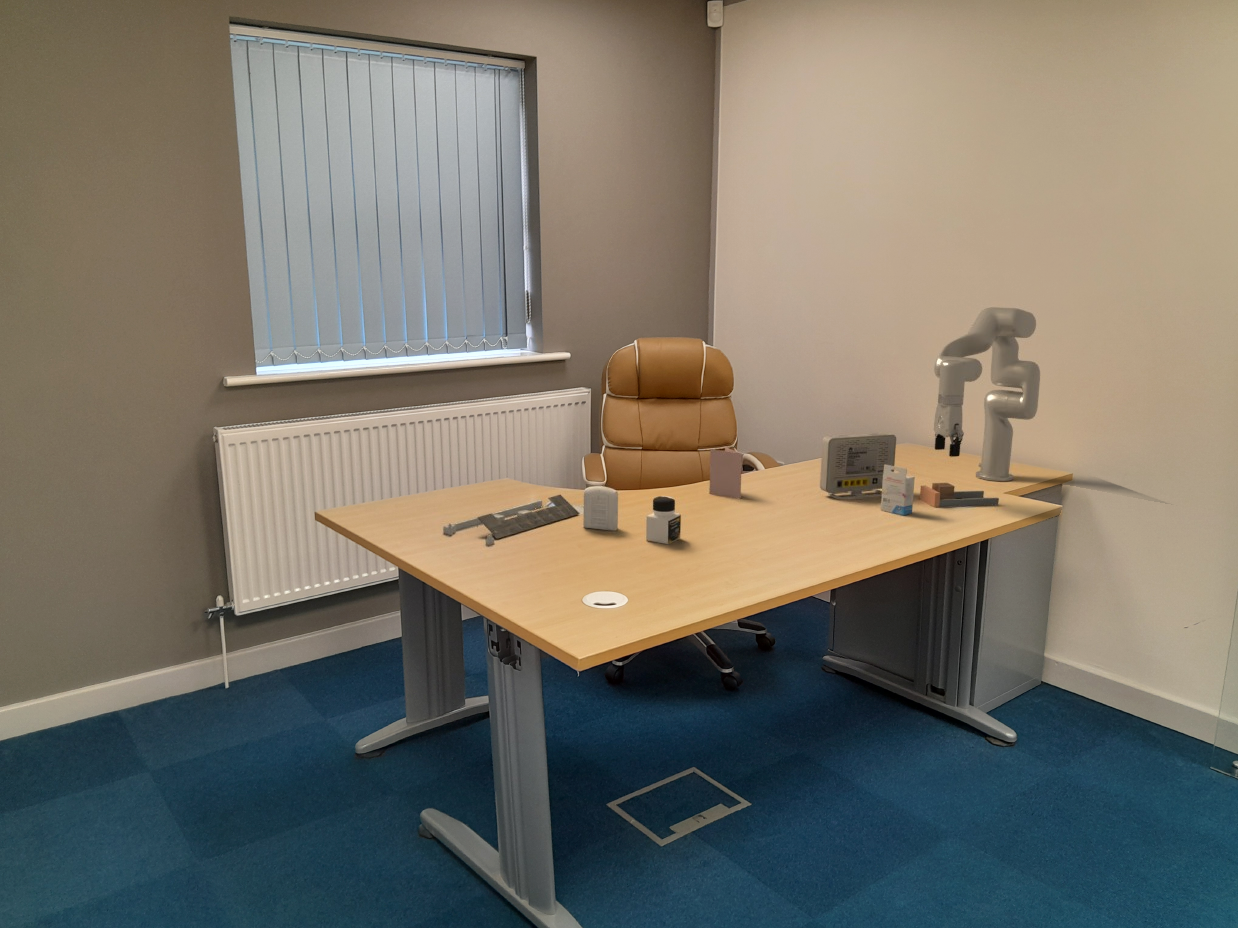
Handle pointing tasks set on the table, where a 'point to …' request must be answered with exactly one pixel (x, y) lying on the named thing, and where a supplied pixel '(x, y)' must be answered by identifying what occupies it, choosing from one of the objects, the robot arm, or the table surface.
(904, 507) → the ink box
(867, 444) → the network device
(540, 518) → the paper cutter
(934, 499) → the guide channel
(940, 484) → the block
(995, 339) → the robot arm
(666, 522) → the medicine bottle
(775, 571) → the table surface
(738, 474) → the greeting card
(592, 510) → the gravestone
